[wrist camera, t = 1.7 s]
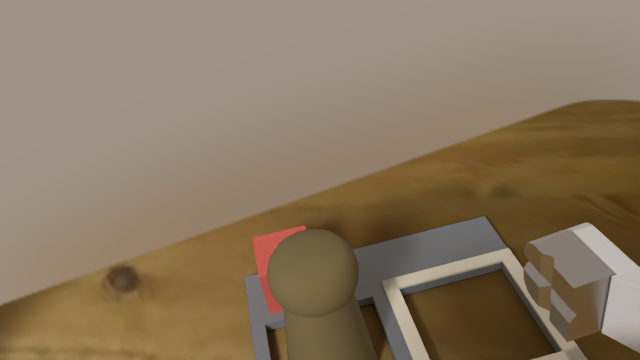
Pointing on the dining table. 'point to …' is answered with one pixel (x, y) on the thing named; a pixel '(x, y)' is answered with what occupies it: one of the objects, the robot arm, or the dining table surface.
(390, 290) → the grey and white frame
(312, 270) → the cork
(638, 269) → the robot arm
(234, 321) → the dining table surface
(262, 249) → the red cube
